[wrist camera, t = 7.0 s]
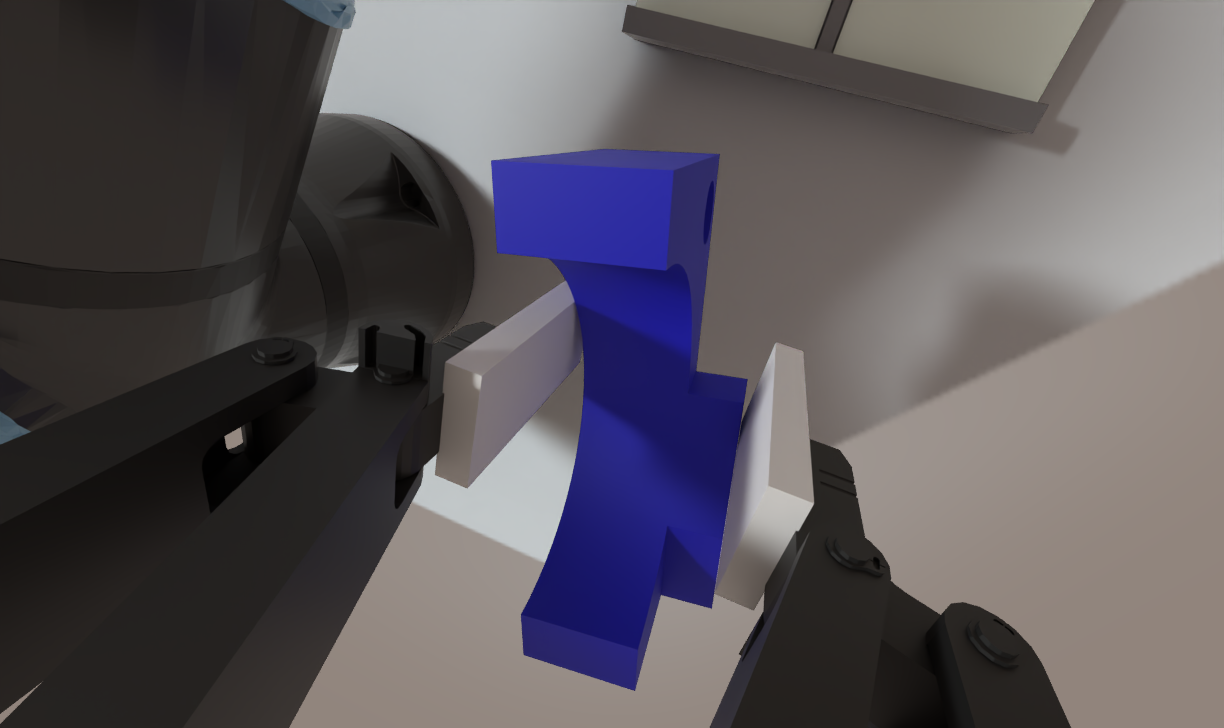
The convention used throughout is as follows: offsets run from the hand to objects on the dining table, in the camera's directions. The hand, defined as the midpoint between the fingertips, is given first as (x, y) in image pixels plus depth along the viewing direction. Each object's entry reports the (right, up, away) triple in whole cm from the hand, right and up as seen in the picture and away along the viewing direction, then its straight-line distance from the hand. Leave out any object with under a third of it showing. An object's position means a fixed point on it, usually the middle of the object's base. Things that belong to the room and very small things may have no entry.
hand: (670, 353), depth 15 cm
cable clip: (0, 0, +1) cm, 1 cm away
